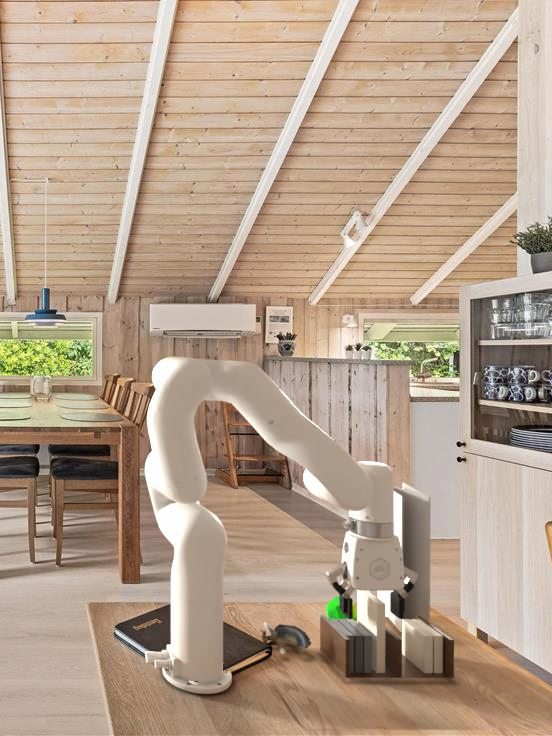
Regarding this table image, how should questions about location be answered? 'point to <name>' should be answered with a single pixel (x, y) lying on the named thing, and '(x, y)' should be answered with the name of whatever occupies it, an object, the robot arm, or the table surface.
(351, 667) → the grey books
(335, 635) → the book rack
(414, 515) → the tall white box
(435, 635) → the white books
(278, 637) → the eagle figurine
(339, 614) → the apple
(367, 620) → the white book
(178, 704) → the table surface
